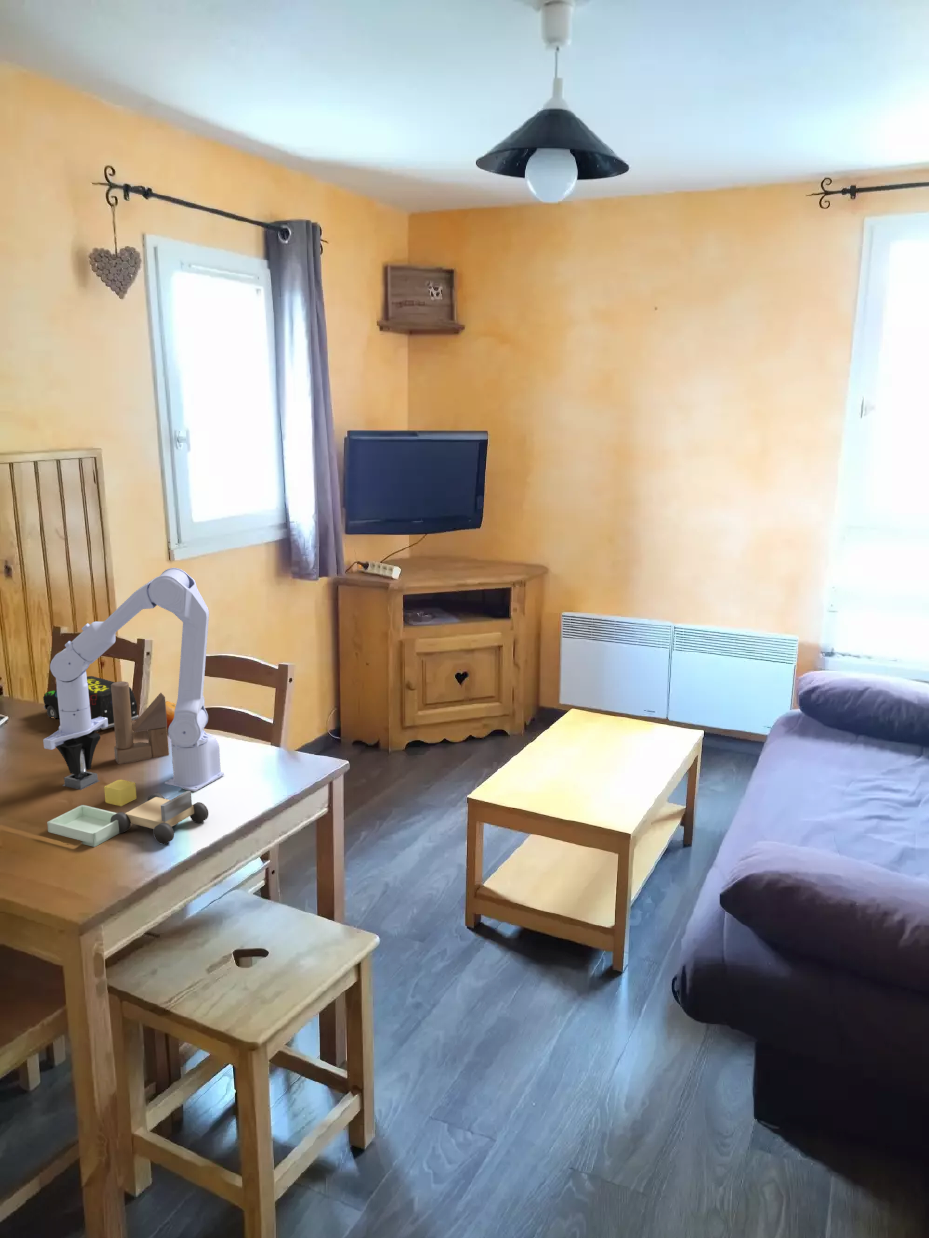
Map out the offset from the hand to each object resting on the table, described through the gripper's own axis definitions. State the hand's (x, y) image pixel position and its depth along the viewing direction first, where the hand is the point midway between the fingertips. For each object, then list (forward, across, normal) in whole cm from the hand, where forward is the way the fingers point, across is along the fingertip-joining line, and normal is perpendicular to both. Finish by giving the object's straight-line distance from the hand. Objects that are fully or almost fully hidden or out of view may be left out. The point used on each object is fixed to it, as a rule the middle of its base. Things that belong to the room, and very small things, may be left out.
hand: (80, 770), depth 180 cm
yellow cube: (+3, +3, +13) cm, 14 cm away
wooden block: (+3, -16, +1) cm, 16 cm away
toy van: (+4, -31, -29) cm, 42 cm away
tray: (+3, +14, +17) cm, 23 cm away
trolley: (+3, +8, +27) cm, 29 cm away
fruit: (+3, -33, -7) cm, 34 cm away
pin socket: (+3, 0, 0) cm, 3 cm away
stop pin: (+2, 0, 0) cm, 2 cm away
